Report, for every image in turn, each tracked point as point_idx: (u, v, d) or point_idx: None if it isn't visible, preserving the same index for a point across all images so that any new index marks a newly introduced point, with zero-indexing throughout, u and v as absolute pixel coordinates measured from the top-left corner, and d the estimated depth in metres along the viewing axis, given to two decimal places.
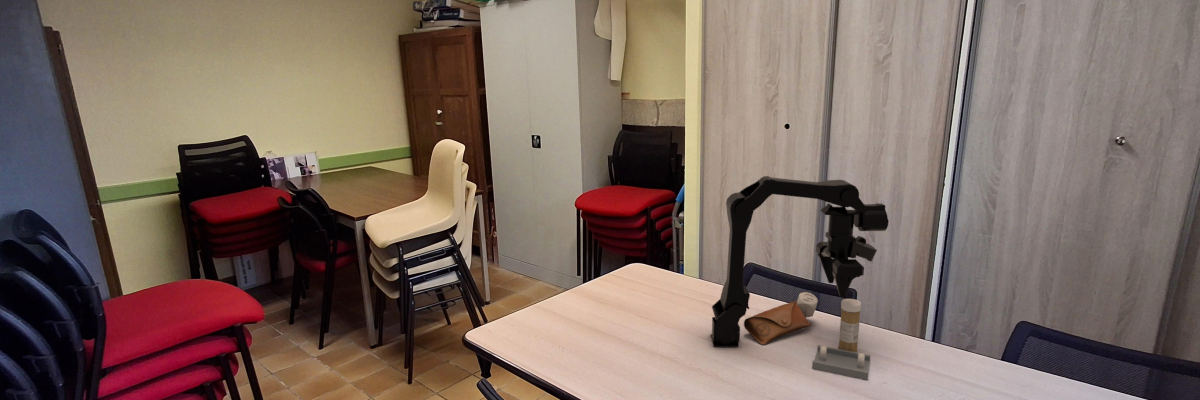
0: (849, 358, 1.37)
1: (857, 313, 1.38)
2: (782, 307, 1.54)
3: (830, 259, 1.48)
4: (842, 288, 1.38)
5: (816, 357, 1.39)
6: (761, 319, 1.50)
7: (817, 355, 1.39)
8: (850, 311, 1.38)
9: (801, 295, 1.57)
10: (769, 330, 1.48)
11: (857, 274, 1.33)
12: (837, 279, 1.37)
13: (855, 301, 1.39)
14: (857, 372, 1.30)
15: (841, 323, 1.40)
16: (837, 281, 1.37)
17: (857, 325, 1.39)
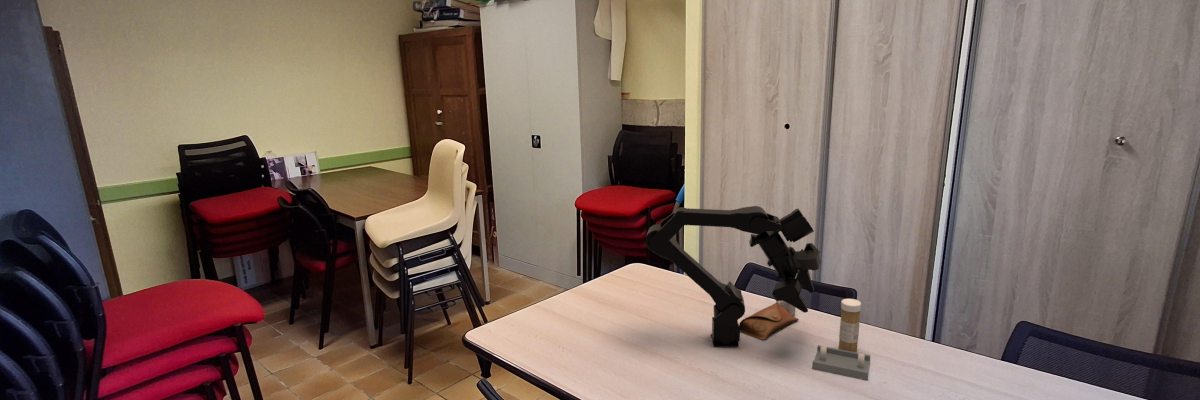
0: (849, 358, 1.37)
1: (857, 313, 1.38)
2: (768, 307, 1.60)
3: (798, 271, 1.46)
4: (798, 305, 1.38)
5: (816, 357, 1.39)
6: (754, 319, 1.54)
7: (817, 355, 1.39)
8: (850, 311, 1.38)
9: None
10: (765, 326, 1.52)
11: (791, 295, 1.34)
12: (786, 301, 1.38)
13: (855, 301, 1.39)
14: (857, 372, 1.30)
15: (841, 323, 1.40)
16: (788, 302, 1.38)
17: (857, 325, 1.39)
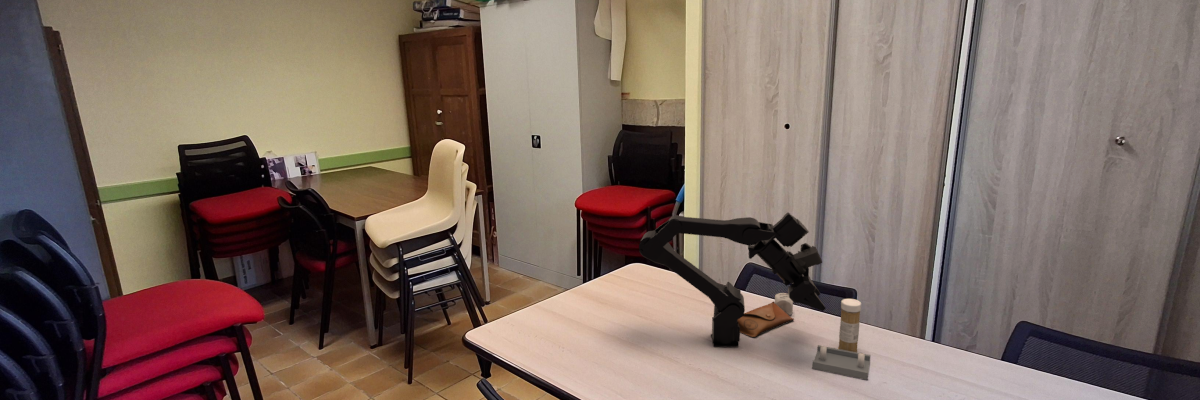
0: (849, 358, 1.37)
1: (857, 313, 1.38)
2: (763, 306, 1.61)
3: None
4: (815, 304, 1.36)
5: (816, 357, 1.39)
6: (746, 316, 1.56)
7: (817, 355, 1.39)
8: (850, 311, 1.38)
9: (777, 295, 1.65)
10: (757, 324, 1.53)
11: (809, 291, 1.32)
12: (803, 302, 1.36)
13: (855, 301, 1.39)
14: (857, 372, 1.30)
15: (841, 323, 1.40)
16: (805, 303, 1.36)
17: (857, 325, 1.39)
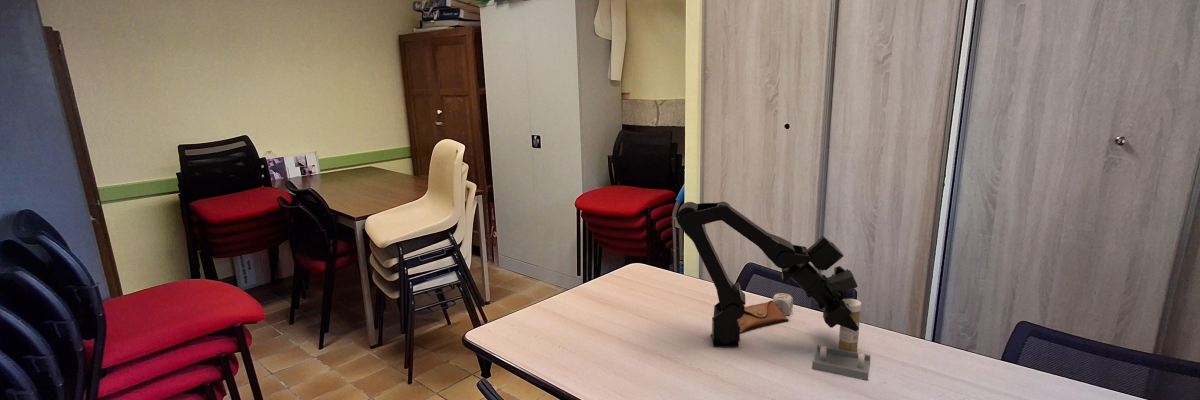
0: (849, 358, 1.37)
1: (857, 313, 1.38)
2: (758, 304, 1.62)
3: None
4: (849, 324, 1.38)
5: (816, 357, 1.39)
6: None
7: (817, 355, 1.39)
8: None
9: (776, 295, 1.66)
10: (745, 320, 1.56)
11: (845, 316, 1.31)
12: None
13: (855, 301, 1.39)
14: (857, 372, 1.30)
15: None
16: (838, 324, 1.37)
17: (857, 325, 1.39)
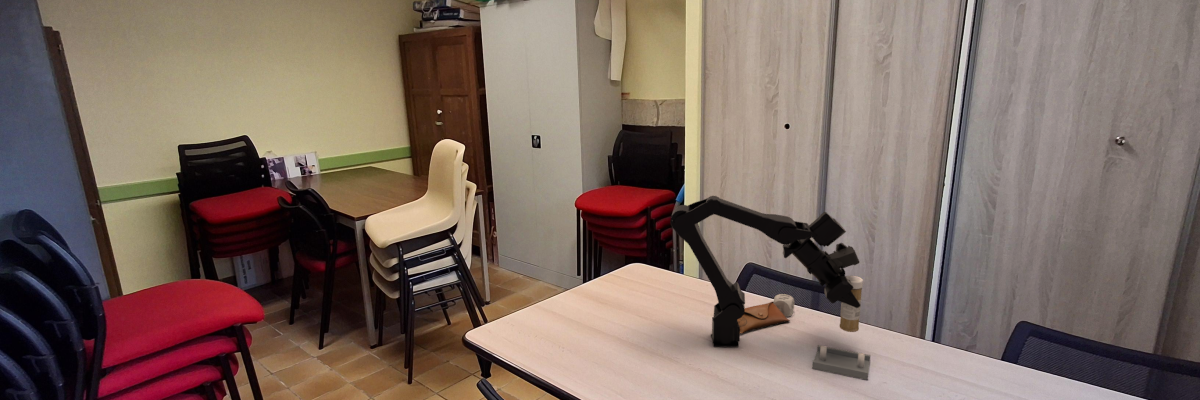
0: (849, 358, 1.37)
1: (859, 290, 1.37)
2: (759, 305, 1.62)
3: None
4: (850, 301, 1.36)
5: (816, 357, 1.39)
6: None
7: (817, 355, 1.39)
8: None
9: (777, 296, 1.65)
10: (746, 321, 1.55)
11: (847, 291, 1.30)
12: None
13: (857, 278, 1.38)
14: (857, 372, 1.30)
15: None
16: (840, 300, 1.36)
17: (859, 302, 1.37)
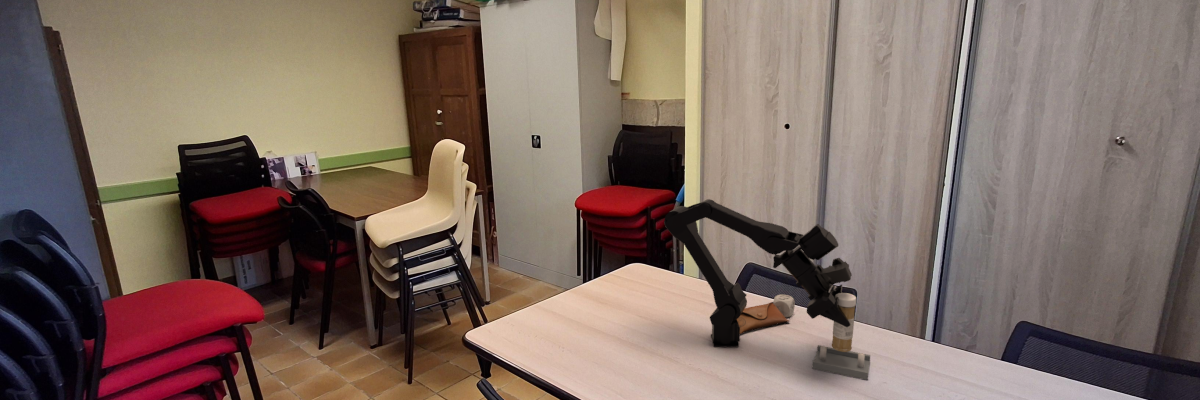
0: (849, 358, 1.37)
1: (850, 308, 1.30)
2: None
3: None
4: (839, 319, 1.31)
5: (816, 357, 1.39)
6: None
7: (817, 355, 1.39)
8: (842, 305, 1.31)
9: (777, 296, 1.65)
10: (745, 322, 1.55)
11: (827, 308, 1.25)
12: (825, 315, 1.31)
13: (850, 296, 1.32)
14: (857, 372, 1.30)
15: None
16: (827, 317, 1.31)
17: (850, 321, 1.31)
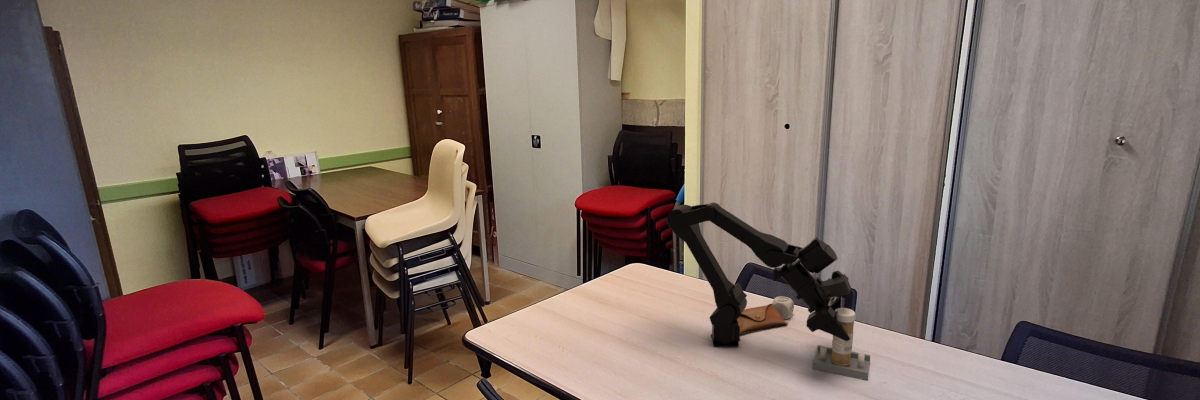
0: None
1: (849, 324, 1.31)
2: (757, 307, 1.60)
3: None
4: (838, 333, 1.31)
5: (816, 357, 1.39)
6: None
7: (817, 355, 1.39)
8: (841, 321, 1.31)
9: (776, 298, 1.63)
10: (742, 323, 1.54)
11: (826, 321, 1.26)
12: (824, 330, 1.31)
13: (849, 311, 1.32)
14: (857, 372, 1.30)
15: None
16: (826, 331, 1.31)
17: (849, 336, 1.32)
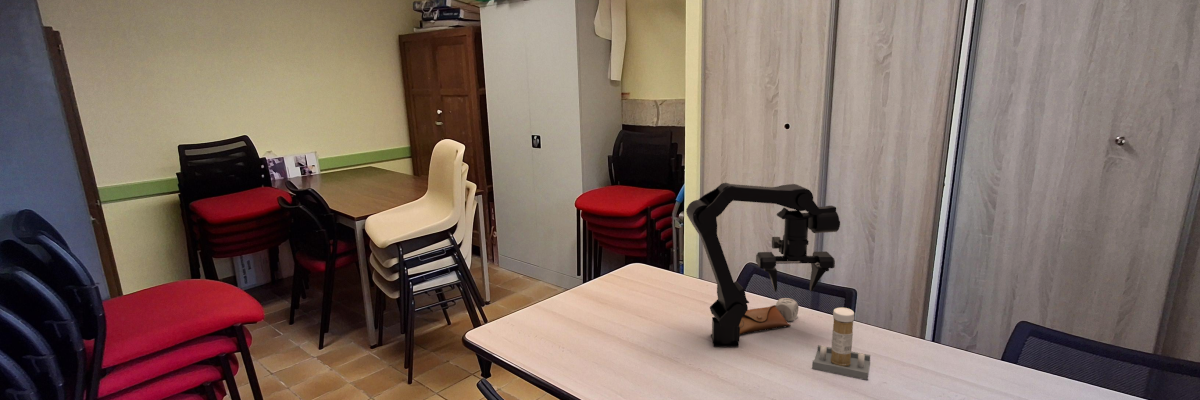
0: None
1: (848, 323, 1.31)
2: (759, 308, 1.59)
3: None
4: None
5: (816, 357, 1.39)
6: None
7: (817, 355, 1.39)
8: (840, 320, 1.32)
9: (780, 299, 1.62)
10: (743, 324, 1.54)
11: None
12: None
13: (848, 311, 1.33)
14: (857, 372, 1.30)
15: (833, 332, 1.34)
16: None
17: (848, 336, 1.32)
